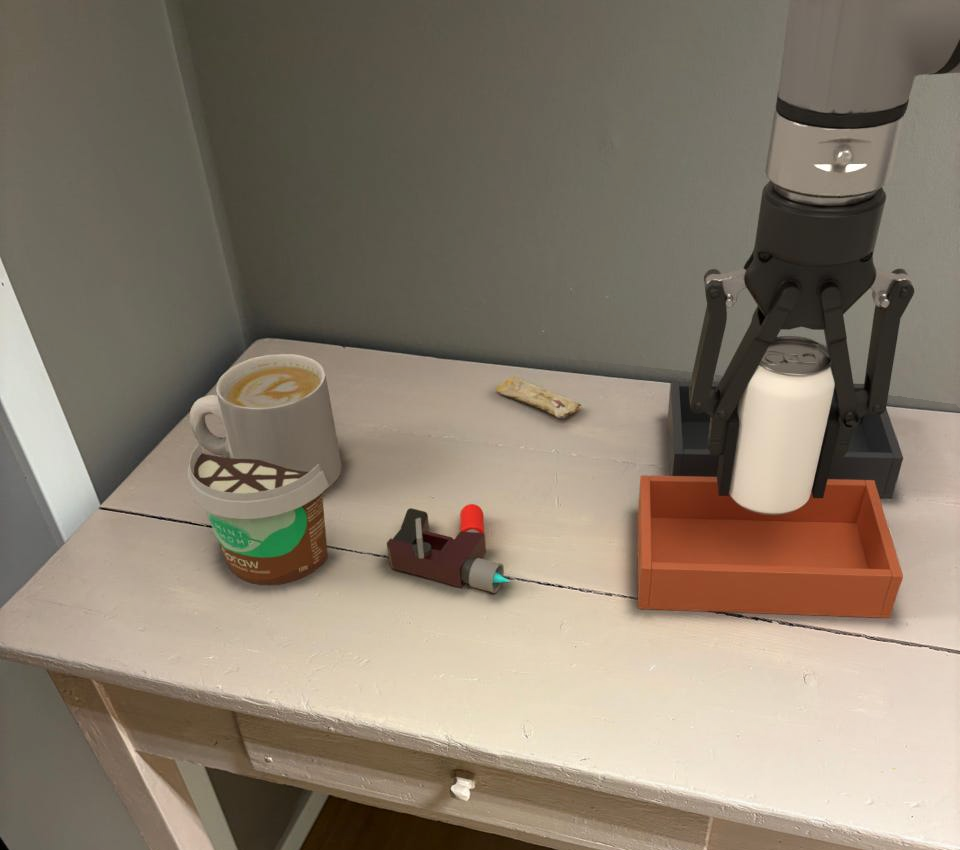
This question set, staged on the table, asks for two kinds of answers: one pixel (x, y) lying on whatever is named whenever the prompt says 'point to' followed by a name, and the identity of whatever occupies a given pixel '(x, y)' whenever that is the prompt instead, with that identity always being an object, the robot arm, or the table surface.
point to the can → (782, 426)
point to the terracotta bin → (764, 552)
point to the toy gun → (446, 551)
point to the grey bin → (865, 459)
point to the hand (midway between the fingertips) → (768, 486)
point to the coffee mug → (273, 415)
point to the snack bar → (538, 397)
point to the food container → (262, 515)
